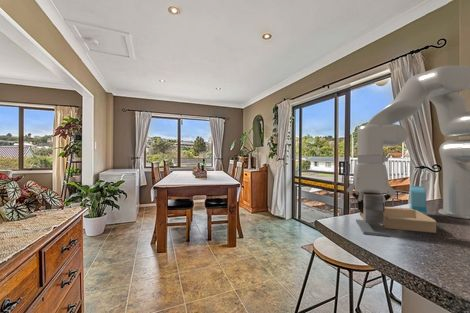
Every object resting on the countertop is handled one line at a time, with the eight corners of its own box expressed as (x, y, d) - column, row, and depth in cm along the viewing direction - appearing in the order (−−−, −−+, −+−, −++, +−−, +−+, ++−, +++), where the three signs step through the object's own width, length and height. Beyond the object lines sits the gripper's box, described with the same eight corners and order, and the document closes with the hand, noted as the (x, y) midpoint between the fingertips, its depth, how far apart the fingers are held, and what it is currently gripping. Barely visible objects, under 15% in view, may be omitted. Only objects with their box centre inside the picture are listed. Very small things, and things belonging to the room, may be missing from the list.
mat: (377, 223, 78) (377, 221, 78) (389, 236, 65) (389, 234, 65) (355, 221, 81) (355, 219, 81) (363, 234, 68) (363, 231, 68)
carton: (414, 218, 83) (414, 208, 83) (439, 234, 66) (439, 222, 66) (372, 215, 88) (372, 206, 88) (386, 229, 71) (385, 218, 72)
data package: (427, 220, 80) (425, 189, 81) (411, 218, 83) (410, 188, 84) (424, 214, 90) (423, 186, 90) (410, 212, 93) (409, 185, 93)
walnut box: (375, 215, 77) (375, 191, 77) (383, 224, 68) (383, 196, 68) (359, 214, 79) (359, 190, 79) (365, 222, 69) (365, 195, 69)
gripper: (395, 160, 74) (396, 212, 74) (341, 160, 80) (342, 208, 80) (404, 160, 67) (404, 218, 67) (344, 160, 73) (344, 213, 73)
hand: (370, 212), depth 73 cm, fingers closed on walnut box, 5 cm apart
